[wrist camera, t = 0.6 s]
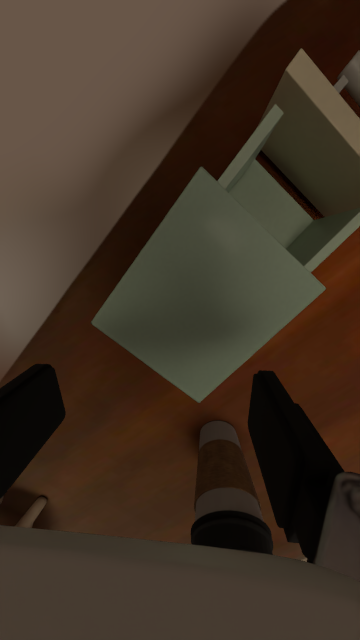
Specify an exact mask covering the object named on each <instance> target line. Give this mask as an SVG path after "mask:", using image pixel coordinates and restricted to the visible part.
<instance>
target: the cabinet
mask: <svg viewBox="0 0 360 640" xmlns="http://www.w3.org/2000/svg"><path fill="white" fill-rule="evenodd" d="M325 289H326V288H325V287H324V286H323V285H322V284H321V283H320V282H319V281H318V280H317V279H316V278H315V277H314V276H313V275H312V274H311V273H310V272H309V271H308V270H307V269H306V268H305V267H304V266H303V265H302V264H301V263H300V262H299V261H298V260H297V259H296V258H295V257H294V256H293V255H292V254H291V253H290V252H289V251H288V250H287V249H286V248H285V247H284V246H282V245H281V244H280V243H279V242H278V241H277V240H276V239H275V238H274V237H273V236H272V235H271V234H270V233H269V232H268V231H267V230H266V229H265V228H264V227H263V226H262V225H261V224H260V223H259V222H258V221H257V220H256V219H255V218H254V217H253V216H252V215H251V214H250V213H249V212H248V211H247V210H246V209H245V208H244V207H243V206H242V205H241V204H240V203H239V202H238V201H236V200H235V199H234V198H233V197H232V196H231V195H230V194H229V193H228V192H227V191H226V190H225V189H224V188H223V187H222V186H221V185H220V184H219V183H218V182H217V181H216V180H215V179H214V178H213V177H212V176H211V175H210V174H209V173H208V172H207V171H206V170H205V169H204V168H203V167H200V168H199V169H198V171H197V172H196V174H195V175H194V177H193V178H192V179H191V181H190V182H189V184H188V185H187V187H186V188H185V189H184V191H183V192H182V194H181V195H180V196H179V198H178V199H177V201H176V202H175V204H174V205H173V206H172V208H171V209H170V211H169V212H168V213H167V215H166V216H165V218H164V219H163V221H162V222H161V223H160V225H159V226H158V228H157V229H156V231H155V232H154V233H153V235H152V236H151V238H150V239H149V240H148V242H147V243H146V245H145V246H144V248H143V249H142V250H141V252H140V253H139V255H138V256H137V258H136V259H135V260H134V262H133V263H132V265H131V266H130V267H129V269H128V270H127V272H126V273H125V275H124V276H123V277H122V279H121V280H120V282H119V283H118V285H117V286H116V287H115V289H114V290H113V292H112V293H111V294H110V296H109V297H108V299H107V300H106V302H105V303H104V304H103V306H102V307H101V309H100V310H99V311H98V313H97V314H96V316H95V317H94V319H93V320H92V321H91V324H92V325H94V326H95V327H97V328H98V329H99V330H101V331H102V332H103V333H105V334H106V335H107V336H109V337H110V338H111V339H113V340H114V341H116V342H117V343H118V344H120V345H121V346H122V347H124V348H125V349H126V350H128V351H129V352H130V353H132V354H133V355H134V356H136V357H137V358H139V359H140V360H141V361H143V362H144V363H145V364H147V365H148V366H149V367H151V368H152V369H153V370H155V371H156V372H158V373H159V374H160V375H162V376H163V377H164V378H166V379H167V380H168V381H170V382H171V383H172V384H174V385H175V386H177V387H178V388H179V389H181V390H182V391H183V392H185V393H186V394H187V395H189V396H190V397H191V398H193V399H194V400H195V401H197V402H198V403H199V402H201V401H202V400H203V399H204V398H205V397H206V396H207V395H208V394H209V393H211V392H212V391H213V390H214V389H215V388H216V387H217V386H218V385H220V384H221V383H222V382H223V381H224V380H225V379H226V378H227V377H228V376H230V375H231V374H232V373H233V372H234V371H235V370H236V369H237V368H238V367H240V366H241V365H242V364H243V363H244V362H245V361H246V360H247V359H248V358H250V357H251V356H252V355H253V354H254V353H255V352H256V351H257V350H259V349H260V348H261V347H262V346H263V345H264V344H265V343H266V342H267V341H269V340H270V339H271V338H272V337H273V336H274V335H275V334H276V333H277V332H279V331H280V330H281V329H282V328H283V327H284V326H285V325H286V324H288V323H289V322H290V321H291V320H292V319H293V318H294V317H295V316H296V315H298V314H299V313H300V312H301V311H302V310H303V309H304V308H305V307H306V306H308V305H309V304H310V303H311V302H312V301H313V300H314V299H315V298H317V297H318V296H319V295H320V294H321V293H322V292H323V291H324V290H325Z"/></svg>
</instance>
